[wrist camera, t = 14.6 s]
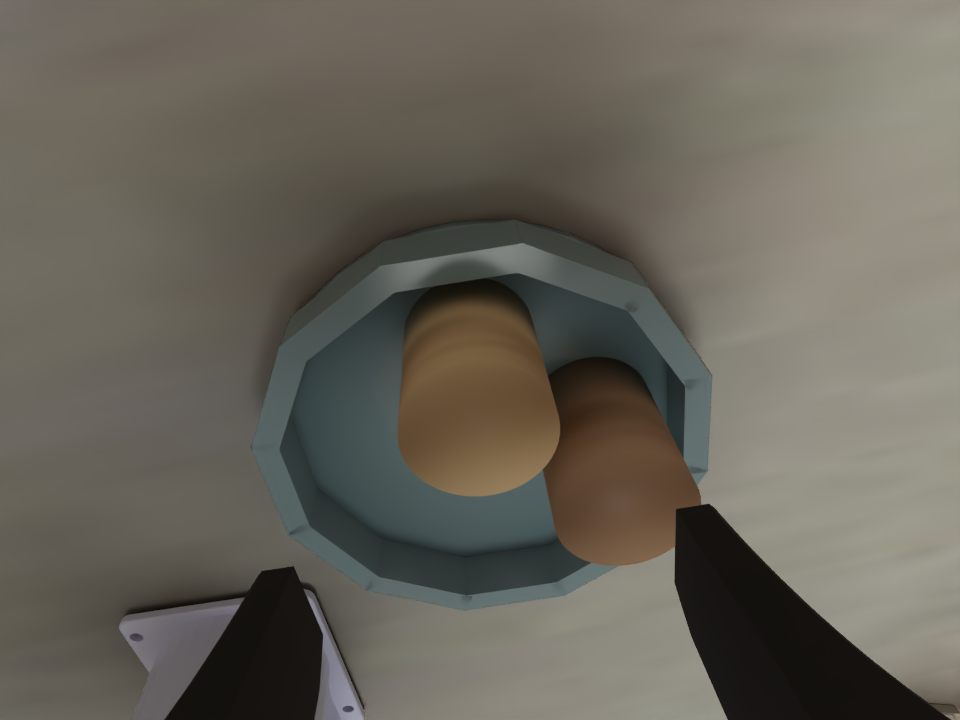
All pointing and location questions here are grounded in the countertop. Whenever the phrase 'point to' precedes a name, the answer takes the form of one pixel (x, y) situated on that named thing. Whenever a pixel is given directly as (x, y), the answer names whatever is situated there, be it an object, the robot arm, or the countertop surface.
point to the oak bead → (474, 391)
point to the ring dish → (375, 409)
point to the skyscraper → (948, 711)
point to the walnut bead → (613, 466)
